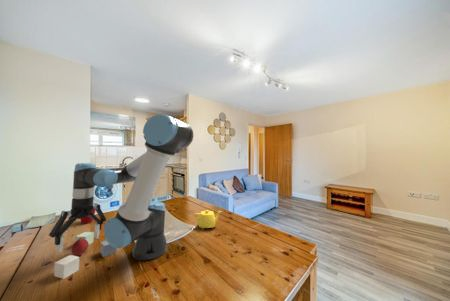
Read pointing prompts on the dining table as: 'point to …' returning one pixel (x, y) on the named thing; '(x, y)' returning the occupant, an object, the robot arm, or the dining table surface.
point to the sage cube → (86, 236)
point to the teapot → (207, 219)
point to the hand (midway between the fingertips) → (79, 244)
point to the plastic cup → (88, 217)
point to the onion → (79, 246)
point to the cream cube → (66, 266)
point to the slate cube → (106, 249)
